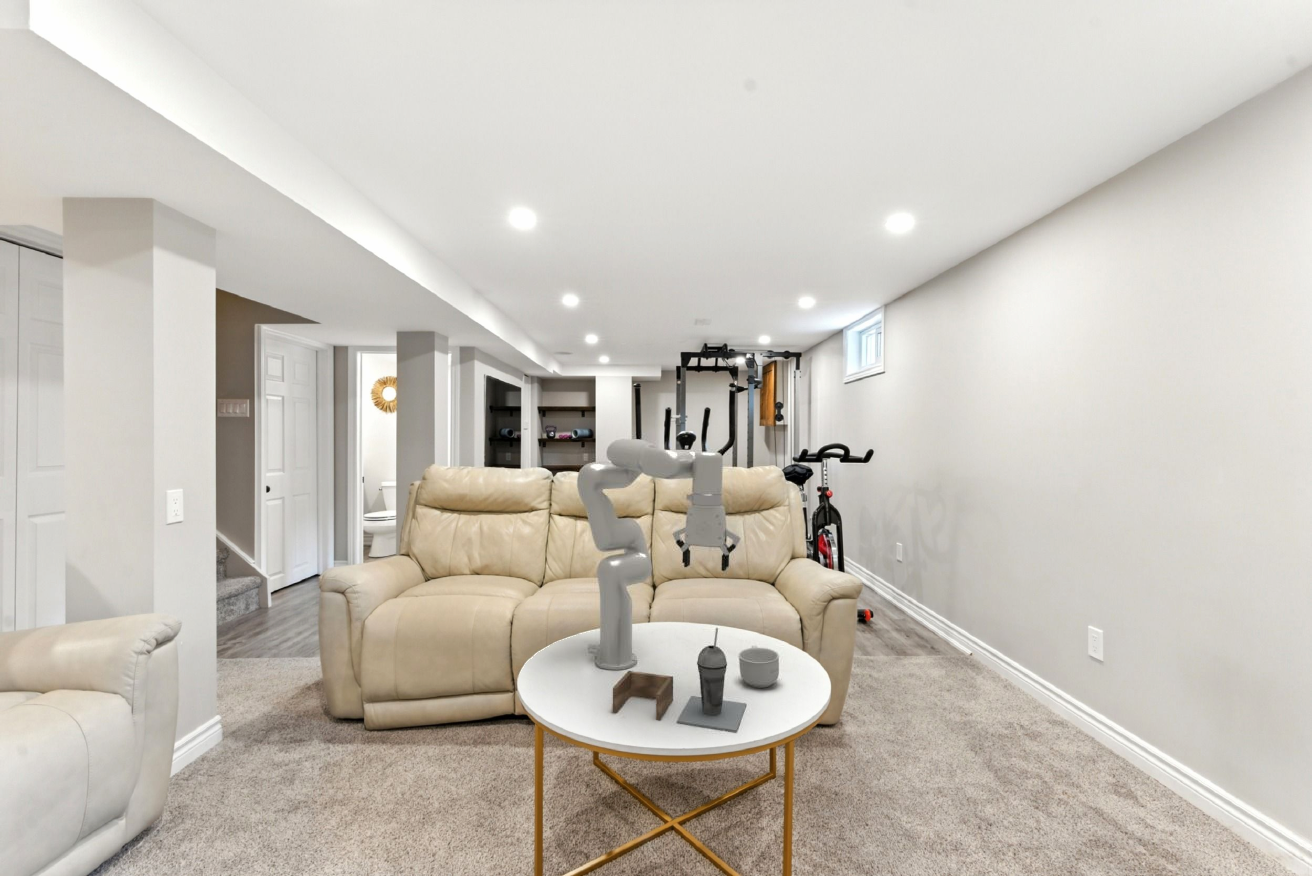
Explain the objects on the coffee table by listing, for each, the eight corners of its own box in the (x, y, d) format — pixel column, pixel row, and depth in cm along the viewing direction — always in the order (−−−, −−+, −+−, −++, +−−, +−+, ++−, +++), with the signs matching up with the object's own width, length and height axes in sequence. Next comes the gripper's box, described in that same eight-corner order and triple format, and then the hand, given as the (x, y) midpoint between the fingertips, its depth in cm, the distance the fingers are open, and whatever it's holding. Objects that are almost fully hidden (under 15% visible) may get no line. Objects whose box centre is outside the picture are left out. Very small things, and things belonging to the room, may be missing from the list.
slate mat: (676, 723, 132) (676, 720, 132) (691, 697, 145) (691, 695, 145) (736, 732, 128) (736, 730, 128) (746, 705, 141) (746, 703, 141)
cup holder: (612, 712, 137) (612, 687, 137) (628, 693, 147) (628, 670, 147) (660, 720, 133) (660, 694, 133) (673, 700, 143) (673, 676, 144)
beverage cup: (694, 705, 140) (694, 623, 140) (723, 703, 140) (724, 622, 141) (699, 719, 133) (699, 633, 133) (730, 718, 133) (730, 632, 133)
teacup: (779, 693, 148) (779, 662, 148) (737, 689, 150) (737, 659, 150) (778, 672, 162) (778, 644, 162) (740, 669, 164) (740, 641, 164)
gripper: (669, 500, 143) (668, 568, 143) (738, 504, 137) (736, 574, 137) (678, 497, 150) (676, 561, 150) (743, 501, 144) (742, 568, 145)
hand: (705, 568), depth 144 cm, fingers open, 9 cm apart
